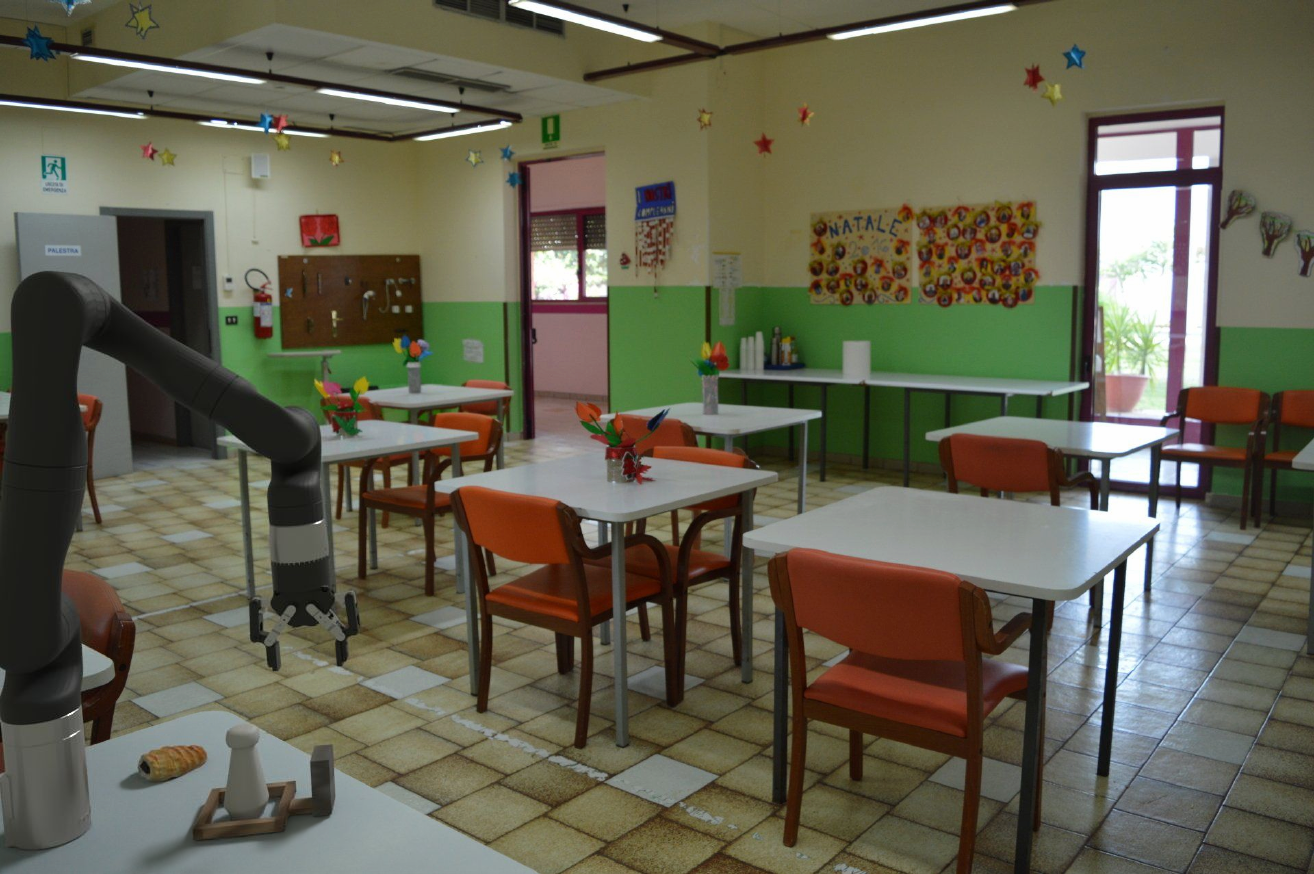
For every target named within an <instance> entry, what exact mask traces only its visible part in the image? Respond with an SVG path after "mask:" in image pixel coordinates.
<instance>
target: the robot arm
mask: <svg viewBox="0 0 1314 874" xmlns="http://www.w3.org/2000/svg"><path fill="white" fill-rule="evenodd" d="M10 333H11V334H10V335H11V338H10V339H11V362H12V364H11V365H12V367H11V368H12V369H11V370H12V371H11V372H12V373H11V375H12V376H11V377H12V378H11V379H12V380H11V388H10V389H11V390H10V397H9V398H10V399H9V406H8V417H7V428H6V439H5V446H4V451H3V452H4V453H3V465H2V473H1V488H0V489H1V494H0V496H1V498H0V669H2V670H3V671H5V673H4V681H3V685H2V689H1V691H0V692H1V693H0V728H1V738H2V739H1V740H2V747H3V748H2V749H3V761H4V773H3V774H2V775H1V777H0V800H1V801H0V802H1V811H2V822H3V830H4V831H3V833H4V842H5V848H8V847H16V848H19V849H22V850H43V849H49V848H53V847H57V846H61V845H63V844H66V843H68V842H71V841H73V840H75V839H77V838H78V837H80V836H82V835H83V834H85V833H86V832H87V831H88V830H89V829H90V827H91V825H92V814H91V812H92V807H91V801H90V789H89V776H88V765H87V753H86V741H85V730H84V729H85V728H84V720H83V708H82V695H81V694H82V693H81V692H82V686H83V678H84V659H83V658H84V655H83V638H82V637H83V636H82V626H81V625H82V624H81V618H80V614H79V611H78V608H77V606H76V604H75V603H74V602H73V600H72V598H70V596H68V595H67V594H66V593H64V592H62V587H63V586H62V585H63V571H64V567H65V562H66V558H67V554H68V551H69V548H70V545H71V542H72V539H73V538H74V537H73V536H74V534H75V531H76V527H77V524H78V520H79V518H80V515H81V511H82V507H83V503H84V500H85V499H84V498H85V492H86V483H87V473H88V464H89V445H88V437H87V432H86V427H85V424H84V418H83V415H82V410H81V407H80V406H81V405H80V403H79V396H78V373H79V366H80V359H81V353H82V348H83V347H84V348H88V349H89V350H90V349H91V350H93V351H96V352H99V353H101V354H104V355H106V356H108V357H110V358H113V359H114V360H117V361H119V362H120V363H122V364H124V365H125V366H127V367H129V368H130V369H132V370H133V371H135V372H136V373H138V374H139V375H141V376H142V377H144V378H145V379H146V380H147V381H148V382H149V383H151V384H152V385H153V386H154V387H156V388H157V389H158V390H160V392H162V393H163V394H165V395H166V396H168V397H169V398H170V399H171V400H174V401H175V402H176V403H178V404H179V405H181V406H183V407H184V408H186V409H188V410H189V411H192V412H193V413H195V414H197V415H199V416H200V417H202V418H204V419H206V420H208V421H210V422H212V423H214V424H216V425H218V426H219V427H222V428H224V429H225V430H226V431H228V432H229V433H230V434H231V435H232V436H234V437H235V438H236V439H237V440H239V441H241V443H243V444H244V445H245V446H247V447H248V448H250V449H251V450H252V451H255V452H256V454H259V455H261V456H262V457H264V458H266V459H268V460H270V471H271V477H270V481H269V484H268V486H267V490H266V491H267V492H266V499H267V500H266V501H267V514H268V523H269V527H268V529H269V530H268V547H269V559H270V570H271V571H270V572H271V579H272V583H271V584H272V591H273V594H272V597H263V596H262V595H259V594H256V595H254V597H253V598H252V599H251V600H250V602H249V603H248V609H249V610H248V612H249V640H250V642H251V643H253V644H257V643H259V644H263V646H264V647H265V655H266V665H267V667H268V668H271V669H272V672H279V671H280V669H281V668H282V660H281V648H280V640H278V638H279V636H280V635H281V633H282V632H283V630H284V629H285V628H286V627H287V625H288V626H289V627H292V628H293V629H295V628H301V627H304V626H305V627H317V626H318V625H320V626H322V627H323V628H324V629H325V631H328V632H329V633H330V634H331V635H332V636H333V637H334V638H335V641H334V648H335V657H336V658H335V659H336V662H335V663H336V667H343V666H344V664H345V663H346V662H347V660H348V658H349V655H350V654H349V640H348V638H349V637H351V636H357V635H358V634H359V631H360V628H361V625H362V624H361V618H360V611H359V605H358V597H357V591H356V590H355V589H354V588H350V589H348V590H347V591H343V592H335V591H334V590H333V587H332V579H331V577H332V576H331V565H330V564H331V563H330V552H329V549H330V544H329V540H328V532H327V527H326V524H325V515H324V503H323V494H322V488H321V487H322V486H321V473H322V450H323V449H322V432H321V428H320V423H319V421H318V418H317V417H316V416H315V415H314V414H313V413H312V412H311V411H310V410H309V409H307V408H306V407H303V406H298V405H287V406H282V405H280V404H278V403H276V402H274V401H273V400H272V399H270V398H268V397H267V396H265V395H263V394H261V393H260V392H258V389H257V387H256V385H254V384H253V383H251V381H249V380H248V379H246V378H244V377H243V376H241V375H240V374H238V373H236V372H234V371H233V370H231V369H229V368H227V367H226V366H223V365H221V364H220V363H219V362H217V361H215V360H213V359H211V358H209V357H207V356H205V355H203V354H202V353H200V352H198V351H196V350H194V349H192V348H190V347H188V346H187V345H185V344H183V343H182V342H179V341H178V340H176V339H175V338H173V337H171V336H169V335H168V334H166V333H164V332H162V331H161V330H159V329H157V328H156V327H155V326H153V325H152V324H150V323H149V322H147V321H146V320H144V319H143V318H142V317H140V316H138V315H137V314H135V312H133V311H131V309H129V308H128V307H126V306H125V305H124V304H123V303H122V302H120V301H119V300H118V299H117V298H116V297H114V296H113V295H112V294H110V293H109V292H107V290H105V289H104V288H103V287H101V286H100V285H99V284H98V283H96V282H95V281H94V280H92V279H91V278H90V277H87V276H85V275H83V274H79V273H75V272H67V271H56V270H42V271H37V272H35V273H32V274H30V275H28V276H26V277H25V278H24V279H23V280H22V281H21V282H20V283H19V284H18V285H17V287H16V288H15V290H14V292H13V295H12V299H11V303H10ZM336 602H337V603H339V605H340V607H341V608H342V609H345V611H346V619H347V625H346V626H345V624H344V623H342V621H341V620H340V619H339V617H338V616H337V614H335V613H334V611H333V610H332V607H333V605H334V604H335V603H336ZM269 607H271V609H272V610H273V611H274V613H276V614H277V615H278V616H279V619H278V620H277V621H276V623H275V625H274V626H273V628H272V629H271V630H270V631H266V630H265V629H264V614H265V613H267V611H268V609H269Z"/></svg>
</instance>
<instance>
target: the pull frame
mask: <svg viewBox="0 0 1314 874" xmlns="http://www.w3.org/2000/svg"><path fill="white" fill-rule="evenodd" d="M334 759H335V758H334V744H333V743H331V744H321V745H314V746H313V751H312V753H311V757H310V760H309V767H310V769H309V770H310V771H309V772H310V785H311V788H310V789H311V796H310V797H309V796H308V797H300V798H295V796H296V793H297V781H296V780H291V781H290V780H289V781H278V782H269V783H268V782H266V785H267V789H268V793H269V798H272V797H280V796H281V800H280V802H279V806H278V809H277V810H276V814H275V816H271V817H270V816H269V817H262V818H261V817H260V818H259V819H249V820H239V821H221V822H212V820H213V818H214V816H215V814H216V811H217V809H218V807H219V804H220V802H223V803H224V799H225V792H226V787H217V788H216V787H215V788H211V791H210V793H209V795H208V797H207V798H206V800H205V802H204V805H203V807H202V809H201V812H200V813H199V816H198V818H197V820H196V822H195V824H194V827H193V828H192V835H193V836H192V837H193V841H199V840H207V839H216V838H217V839H218V838H226V837H227V838H229V837H237V836H245V835H247V836H248V835H254V834H255V835H256V834H265V833H275V832H283V831H285V830H286V827H287V826H286V825H287V823H288V820H289V817H290V816H295V815H302V814H312V817H318V816H319V817H320V816H327V815H333V810H334V806H335V800H336V779H335V777H336V776H335V762H334Z"/></svg>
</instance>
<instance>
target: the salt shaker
mask: <svg viewBox="0 0 1314 874" xmlns="http://www.w3.org/2000/svg"><path fill="white" fill-rule="evenodd" d="M260 734H261V733H260V729H259V727H258V726H257V725H255V724H252V723H241V724H236V725H234V726H232V727H230V728H229V729H228V730H227V731H226V734H225V743H226V746H227V747H228V748H229V749H230V750H231V751H230V757H229V766H228V774H227V779H226V792H225V799H224V801H223V806H224V807H223V808H224V810H225V811H226V812H227V814H228V816H229V817H230V819H231V820H232V821H239V820H249V819H259V818H261V817H262V815H264V813H265V810H266V807H267V805H268V802H269V798H270V797H269V793H268V789H267V785H266V784H267V782H266V779H265V774H264V770H263V767H262V764H261V763H262V762H261V758H260V755H259V752H258V751H259V750H258V747H257V744H258V743H259V742H260V741H259V740H260Z"/></svg>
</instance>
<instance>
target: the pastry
mask: <svg viewBox="0 0 1314 874" xmlns="http://www.w3.org/2000/svg"><path fill="white" fill-rule="evenodd" d="M207 760H208V754H207V752H206V750H205V748H204V747H203V746H201V745H196V744H191V745H188V746H187V745H174V746H168V745H166V746H162V747H161V748H160V749H159V748H158V749H151V750H150V751H149V752H148V753H144V754H142V755H140V758H139V760H138V763H137V770H138V772H139V773H140V774H139V775H140V776H141V778H143V779H144V778H145V779H146V780H147V781H149V782H154V783H156V782H157V783H161V782H165V781H169V779H171V778H174V777H175V778H179V777H181V776H183V775H185V774H188V773H190V772H191V771H194V770H196V769H198V768H199V767H201V766H203V764H205V763H206V762H207Z"/></svg>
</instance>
